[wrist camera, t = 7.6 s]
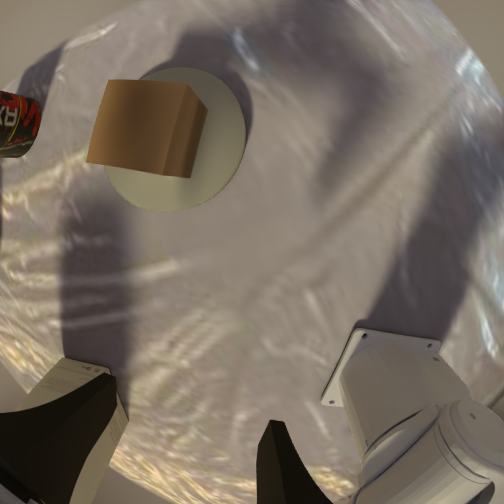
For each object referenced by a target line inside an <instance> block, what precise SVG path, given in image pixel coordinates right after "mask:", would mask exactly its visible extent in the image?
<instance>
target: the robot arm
mask: <svg viewBox="0 0 504 504" xmlns="http://www.w3.org/2000/svg"><path fill="white" fill-rule="evenodd" d="M363 334H366V335H365V336H364V337H362V335H363ZM428 344H429V345H428ZM440 347H441V342H440V341H438V340H433V339H426V338H419V337H412V336H406V335H399V334H393V333H387V332H381V331H375V330H369V329H364V328H357V329H355V330H354V331H353V332H352V334H351V337H350V339H349V341H348V344H347V346H346V348H345V350H344V353H343V355H342V357H341V359H340V361H339V363H338V365H337V368H336V370H335V372H334V374H333V376H332V378H331V380H330V382H329V384H328V386H327V388H326V390H325V392H324V394H323V396H322V397H321V404H322V405H328V406H339V407H344V409H345V412H346V415H347V418H348V421H349V425H350V428H351V431H352V434H353V438H354V441H355V444H356V448H357V451H358V455H359V458H360V462H361V465H362V470H361V472H360V473H359V474H358V475H357V479H358V483H359V487H360V489H358V490H357V491H356V492H355V493H354V494H353V495H352V497H351V499H350V500H349V503H348V504H504V422H503V421H502V420H501V418H500V417H499V416H497V415H496V414H495V413H494V412H493V411H492V410H490V409H489V408H487V407H486V406H484V405H482V404H481V403H479V402H476V401H473V400H472V399H471V394H470V391H469V389H468V387H467V386H466V385H465V383H464V382H463V381H462V380H461V379H460V378H459V376H458V375H457V374H456V373H455V372H454V371H453V369H452V368H451V367H450V366H449V365H448V364H447V363H446V362H445V360H444V359H443V358H442V357H441V356H440V355H439V354H438V351H439V349H440ZM331 400H333V401H331ZM116 407H117V392H116V377H115V376H112V375H110V374H108V373H105V372H104V373H102V374H100V375H98V376H97V377H95V378H94V379H92V380H90V381H89V382H87V383H85V384H84V385H82V386H80V387H79V388H77V389H75V390H73V391H71V392H70V393H68V394H66V395H64V396H62V397H59V398H57V399H55V400H53V401H51V402H48V403H45V404H43V405H40V406H37V407H33V408H29V409H25V410H21V411H15V412H8V413H0V504H69V503H70V500H71V497H72V494H73V491H74V488H75V485H76V482H77V480H78V477H79V475H80V473H81V470H82V468H83V466H84V464H85V461H86V459H87V457H88V455H89V454H90V452H91V450H92V449H93V447H94V446H95V444H96V443H97V441H98V439H99V438H100V436H101V435H102V433H103V432H104V430H105V429H106V427H107V425H108V424H109V422H110V420H111V418H112V416H113V414H114V412H115V410H116ZM256 474H257V504H333V503H332V502H331V501H330V500H329V499H328V498H327V497H326V496H325V494H324V493H323V492H322V491H321V490H320V488H319V487H318V486H317V484H316V483H315V482H314V480H313V479H312V477H311V476H310V474H309V473H308V471H307V469H306V468H305V466H304V464H303V463H302V461H301V459H300V457H299V455H298V453H297V451H296V449H295V447H294V445H293V443H292V440H291V438H290V436H289V433H288V431H287V428H286V425H285V423H284V422H283V421H276V420H270V421H269V423H268V425H267V428H266V430H265V432H264V434H263V436H262V438H261V440H260V442H259V444H258V452H257V461H256Z"/></svg>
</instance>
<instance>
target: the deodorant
mask: <svg viewBox="0 0 504 504" xmlns="http://www.w3.org/2000/svg"><path fill="white" fill-rule="evenodd" d="M40 120H41V111H40V106H39V104H38V102H37V101H36V100H34V99H31V98H28V97H24V96H20V95H16V94H12V93H8V92H4V91H0V158H18V157H21V156H23V155H25V153H26V152H27V151H28V150H29V149H30V148H31V146H32V144H33V143H34V140H35V138H36V136H37V133H38V130H39V126H40Z"/></svg>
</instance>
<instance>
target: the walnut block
mask: <svg viewBox="0 0 504 504" xmlns="http://www.w3.org/2000/svg"><path fill="white" fill-rule="evenodd" d="M207 112H208V109H207V108H206V107H205V106H204V104H203V103H202V102H201V100H200V99H199V98H198V96H197V95H196V94H195V92H194V91H193V90H192V89H191V87H190V86H189V85H188V84H187V83H178V82H167V81H151V80H108V83H107V86H106V89H105V92H104V95H103V98H102V101H101V105H100V108H99V111H98V115H97V118H96V122H95V126H94V130H93V133H92V138H91V142H90V146H89V150H88V155H87V160H86V162H88V163H94V164H101V165H107V166H113V167H119V168H125V169H130V170H136V171H141V172H147V173H152V174H157V175H162V176H172V177H182V178H191V173H192V169H193V165H194V161H195V157H196V153H197V149H198V145H199V141H200V138H201V134H202V130H203V127H204V123H205V119H206V116H207Z"/></svg>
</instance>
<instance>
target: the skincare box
mask: <svg viewBox="0 0 504 504" xmlns="http://www.w3.org/2000/svg"><path fill="white" fill-rule="evenodd" d="M104 372H105V373H108V374H110V371H109V368H106V367H102V366H97V365H93V364H89V363H84V362H80V361H76V360H72V359H68V358H61V359H60V360H59V361H58V362H57V364H56V365H55V366H54V367H53V368H52V369H51V370H50V371H49V372H48V373H47V374H46V375H45V376H44V377H43V378H42V380H41V381H40V382H39V383H38V384H37V385H36V386H35V387H34V388H33V389H32V391H31V392H30V393H29V394H28V395H27V396H26V397H25V398H24V400H23V401H22V402H21V403H20V404H19V405H18V406H17V408H16V409H15V410H14V411H13V412H15V411H21V410H25V409H29V408H33V407H37V406H40V405H43V404H45V403H48V402H51V401H53V400H55V399H57V398H59V397H62V396H64V395H66V394H68V393H70V392H71V391H73V390H75V389H77V388H79V387H80V386H82V385H84V384H85V383H87V382H89V381H90V380H92V379H94V378H95V377H97V376H98V375H100V374H102V373H104ZM110 375H111V374H110ZM116 392H117V391H116ZM128 422H129V421H128V419H127V416H126V414H125V412H124V409H123V407H122V404H121V401H120V399H119V396H118V394H117V407H116V410H115V412H114V414H113V416H112V418H111V420H110V422H109V424H108V425H107V427H106V429H105V430H104V432H103V433H102V435H101V436H100V438H99V439H98V441H97V443H96V444H95V446H94V447H93V449H92V450H91V452H90V454H89V455H88V457H87V459H86V461H85V464H84V466H83V468H82V470H81V473H80V475H79V477H78V480H77V482H76V485H75V488H74V491H73V494H72V497H71V500H70V503H69V504H91V503H92V501H93V498H94V496H95V493H96V491H97V489H98V487H99V484H100V482H101V480H102V478H103V475H104V473H105V471H106V469H107V467H108V464H109V462H110V460H111V458H112V456H113V453H114V451H115V449H116V447H117V445H118V443H119V441H120V438H121V436H122V434H123V432H124V430H125V428H126V426H127V424H128Z"/></svg>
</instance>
